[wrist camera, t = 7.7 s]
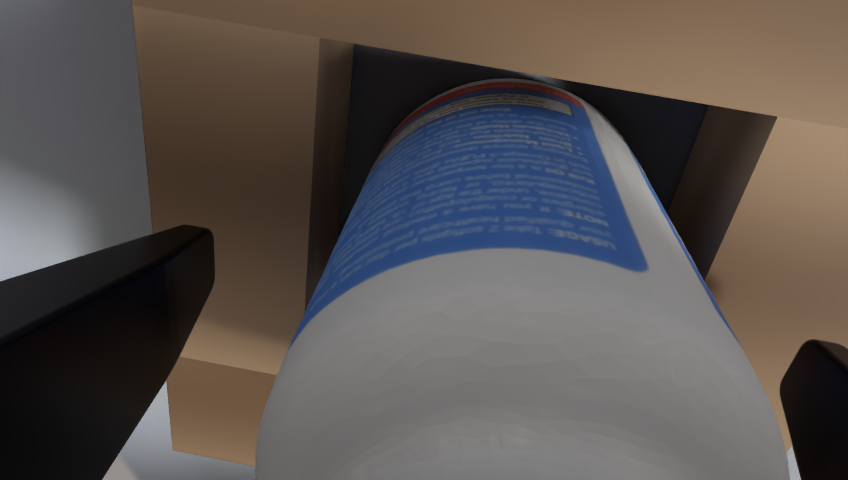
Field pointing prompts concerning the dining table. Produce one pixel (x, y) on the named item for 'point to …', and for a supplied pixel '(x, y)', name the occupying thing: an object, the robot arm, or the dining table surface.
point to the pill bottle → (514, 316)
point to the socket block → (505, 49)
